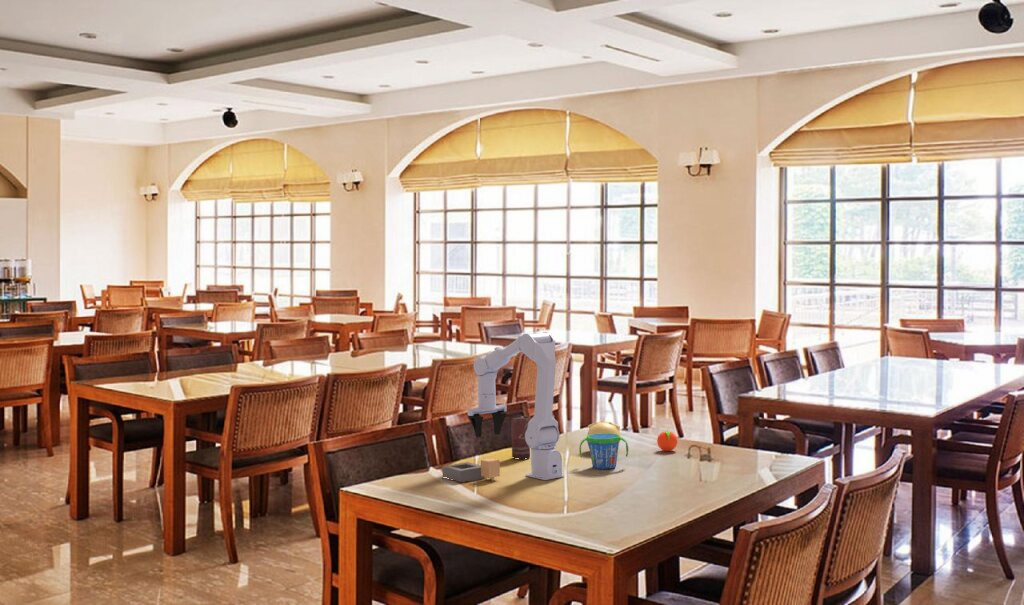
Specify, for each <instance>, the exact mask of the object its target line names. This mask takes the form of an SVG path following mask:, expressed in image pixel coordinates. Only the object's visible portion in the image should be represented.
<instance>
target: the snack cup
mask: <svg viewBox="0 0 1024 605" xmlns="http://www.w3.org/2000/svg"><path fill="white" fill-rule="evenodd" d="M585 441H586V443H587V442H588V443H587V446H588V445H589V446H588V448H589V452H590V454H589V455H590V460H591V465H592V468H595V469H597V470H607V469H613V468H616V467H617V461H618V452H619V447H618V445H619V446H620V444H619V441H620V442H621V441H623V442H624V443H625V450H626V451H625V452H626V454H625V456H626V458H628V455H629V445H628V441H627V440H626V439H625V438H624V437H622V436H621V434H620V435H618V434H611V433H600V434H592V435H588V436H587V435H586V437H585V438H583V439H582V440H581V442H580V444H579V455H580V457H581V458H583V455H582V445H583V443H584V442H585Z"/></svg>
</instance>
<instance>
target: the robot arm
mask: <svg viewBox="0 0 1024 605" xmlns="http://www.w3.org/2000/svg"><path fill="white" fill-rule="evenodd" d="M555 350H556V340H555V338H554V336H552V335H551V333H549V332H548V331H544V332H538V333H537V332H535V333H523V334H522V335H520V336H517V339H515V340H514V341H512V342H511V343H510V344H509V345H507V346H505V347H502V346H495V347H494V350H493V351H491V352H488V353H485V356H483V357H481V356H479V357H477V358H476V359H475V360H474V361H473V362H474V363H473V370H474V373H475V374H476V375H477V394H478V395H477V400H478V406H477V407H475V408H469V409H467V416H468V420H469V421H470V423H471V425H472V427H473V431H474V434H475V437H476V438H482V433H483V432H482V431H483V430H482V426H483V420H484V416H482V415H485V414H491V416H492V420H493V432H494V435H497V436H498V435H501V431H502V427H503V423H504V420H505V419H506V417H507V411H508V410H507V409H508V408H507V407H508V406H507V405H505V404H498V405H497V397H496V396H497V394H496V393H497V390H496V389H497V388H496V386H497V385H496V379H497V377H498V376H497V375H498V372H499V370H500V369H501V368H502V367H504V366H507V364H509V362H510V361H511V358H512V357H513V356H515V355H517V354H519V353H522V354H523V355H525V356H526V357H527V358H528V359H529V360H531V361H532V362H534V363H535V364H536V366H537V369H536V370H537V371H536V382H535V384H536V385H535V396H534V397H535V399H534V413H533V416H532V417H531V418H530V419H529V422H528V428H527V430H526V433H525V440H526V443H527V444H528V446H529V448H530V459H531V460H530V466H531V468H530V469H531V472H530V473H526V474H525V476H526V477H530V478H534V479H538V480H543V481H548V480H553V479H557V478H558V479H559V478H564V477H565V474H563V460H562V459H563V458H562V453H560V451H559V450H557V449H556V448H555V447H556V446H557V443H558V442H559V440H560V431H559V421H557V419H555V418H554V417H553V408H554V393H555V379H556V378H555V376H556V365H557V360H556V354H555V352H556V351H555Z"/></svg>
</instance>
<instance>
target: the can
mask: <svg viewBox="0 0 1024 605" xmlns="http://www.w3.org/2000/svg"><path fill="white" fill-rule="evenodd" d="M529 418H530V417H529V416H524V415H520V416H513V417H512V418H511V421H510V422H511V426H510V427H511V428H510V430H511V458H512V457H514V458H519V459H525V458H529V459H531V448H529V446H528V444H527V443H526V440H525V433H526V430H527V428H528V422H529V421H530V419H529Z"/></svg>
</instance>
